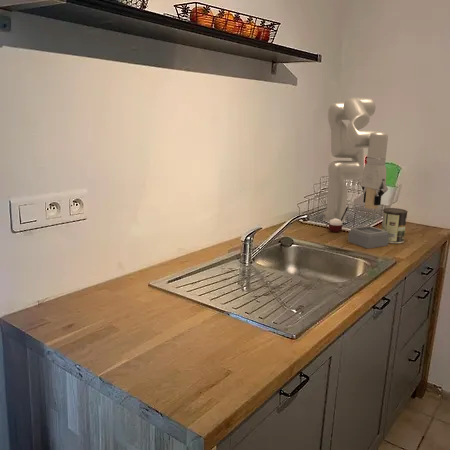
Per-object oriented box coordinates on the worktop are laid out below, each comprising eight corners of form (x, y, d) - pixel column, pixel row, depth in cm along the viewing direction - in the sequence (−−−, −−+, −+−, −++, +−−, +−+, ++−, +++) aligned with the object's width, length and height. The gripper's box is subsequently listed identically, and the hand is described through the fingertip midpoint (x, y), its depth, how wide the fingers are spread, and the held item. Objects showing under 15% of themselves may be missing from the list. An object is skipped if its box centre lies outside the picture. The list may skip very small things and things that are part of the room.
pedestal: (347, 241, 222) (349, 228, 220) (367, 238, 228) (369, 225, 226) (367, 248, 212) (369, 234, 210) (387, 245, 217) (389, 231, 216)
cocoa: (324, 232, 238) (325, 207, 235) (328, 229, 244) (329, 205, 241) (344, 234, 234) (345, 209, 231) (348, 231, 239) (348, 206, 236)
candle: (370, 206, 219) (372, 183, 217) (380, 208, 215) (382, 185, 213) (362, 207, 216) (364, 184, 214) (372, 209, 212) (374, 186, 210)
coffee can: (399, 237, 230) (403, 208, 227) (407, 244, 220) (411, 213, 217) (377, 237, 231) (380, 207, 227) (383, 243, 221) (387, 212, 217)
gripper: (355, 159, 216) (351, 200, 221) (385, 164, 202) (380, 208, 206) (367, 159, 220) (363, 199, 224) (398, 164, 205) (393, 206, 210)
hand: (371, 203), depth 215 cm, fingers closed on candle, 5 cm apart
